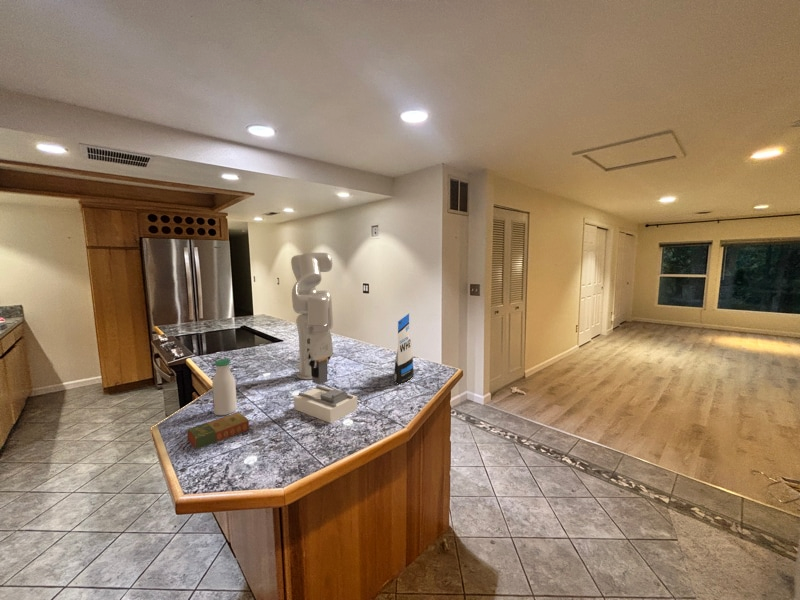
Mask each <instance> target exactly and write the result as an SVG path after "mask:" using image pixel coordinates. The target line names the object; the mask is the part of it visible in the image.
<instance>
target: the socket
mask: <svg viewBox="0 0 800 600" xmlns="http://www.w3.org/2000/svg"><path fill="white" fill-rule="evenodd" d="M333 389H334V388H331V387H327V386H324V385H319V384H317V385H315V388H312V389H309V390H306V391H303V392H298V395H295V396H293V409H294V410H295V411H297V412H298V411H299V412H301V413H303V414H306V415H308V416H311V417H314V418H316V419H319V420H320V421H324V422H326V423H329V424H333V423H334V422H336V421H338V420H340V419H341V418H344V417H345V416H347V415H349V414H351V413H352V412H355V411H356V410H358V396H357V395H355V394H354V395H353V394H351V393H348V392H346V393H347V396H348V398H347V399H345V400H343V401H340V402H338V403H336V404H333V403H330V402H328V401H325V400H322V399H321V395H322V394H324V393H326V392H329V391H331V390H333Z"/></svg>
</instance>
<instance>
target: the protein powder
mask: <svg viewBox="0 0 800 600" xmlns="http://www.w3.org/2000/svg"><path fill="white" fill-rule="evenodd" d="M414 372H415V371H414V357H413V347H412V342H411V336H410V313H408V314H406V315H405V316H403V317H402V318H401V319H399V320H398V321H397V351H396V355H395V363H394V371H393V380H395V381H394V383H395V382H396V383H395V384H397V383H398V384H397V386H400V385H402V384H401V383H404V382H407V381H408V380H410V379H411V378H412V377H413V375H414ZM413 378H414V377H413ZM413 378H412V379H413ZM412 379H411V380H412ZM411 380H410V381H411ZM408 382H409V381H408ZM408 382H407V383H408ZM399 384H400V385H399ZM404 384H405V383H404Z"/></svg>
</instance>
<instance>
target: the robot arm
mask: <svg viewBox="0 0 800 600" xmlns="http://www.w3.org/2000/svg"><path fill="white" fill-rule="evenodd" d="M290 264H291V265H290V266H291V270H292V273H293V275H294V277H295V279H296V281H295V283H294V285H293V286H292V290H291V303H292V308H293V311H294V312H295V313H296V314H299V315H298V316H297V317H296V329H297V334H298V335H297V336H298V350H299V352H298V353H299V364H298V366H296V367H295V368H296V369H297V370H298V371H299V372H297V373H296V377H297V379H300V380H312V377H315V378H318V367H317V360H320V359H323V358H327V357H328V359H327V365H328V364H329V363H330V360H331V357H333V355H334V348H333V340H332V339H333V338H332V334H331V330H332V329H333V327H334V326H333V325H334V318H333V317H334V316H333V304H332V303H333V301H332V296H331V292H329V291H328V290H317V289H316V287H317V286H319V285H320V283H321V282H322V280H323V279H322V273H328V272H330V271H331V270H332V268H333V260H332V256H331V254H329V253H328V252H305V253H304V252H303V254H296V255H293V256H292V257H291V259H290ZM313 361H314V363H313ZM328 372H329V371H328V368H327V375H328Z"/></svg>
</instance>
